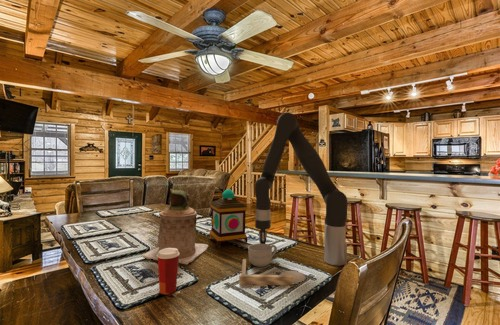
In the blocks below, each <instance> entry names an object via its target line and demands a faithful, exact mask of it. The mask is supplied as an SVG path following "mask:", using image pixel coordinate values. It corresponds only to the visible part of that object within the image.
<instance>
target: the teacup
mask: <svg viewBox="0 0 500 325" xmlns="http://www.w3.org/2000/svg"><path fill="white" fill-rule="evenodd" d="M273 248H274V249H273ZM247 249H248V252H247V253H248V260H249V263H251V265H253V266H255V267H256V268H257V267H258V268H262V267H267V266H268V265H269V264H270V263H271V262H272V259H273V256H274V255H275V254H276V253H277V252H278V251H277V250H278V247H277V245H275V244H271V245H270V244H268V243H265V244H260V243H254V244H250V245H248V246H247Z"/></svg>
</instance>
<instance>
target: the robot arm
mask: <svg viewBox="0 0 500 325" xmlns="http://www.w3.org/2000/svg"><path fill="white" fill-rule="evenodd" d="M277 118H278V119H277V121H276V127H275V128H276V129H275V133H274V137H273V140H272V142H271V144H270V148H269V150H268V152H267V155H266V157H265V160H264V163H263V166H262V172H261V175H260V177H259V178H257V179H256V180H255V183H254V192H255V200H256V202H255V212H254V213H255V218H254V220H255V221H254V222H255V223H254V225H255V226H254V228H255V229H257V230H258V240H259V244H267V243H266V242H267V236H268V231H267V230H269V229H271V223H272V222H271V221H272V220H271V219H272V218H271V217H272V213H271V212H272V211H271V203H272V202H271V198H270V190H271V188H272V186H273V184H274V180H275V176H276V173H277V171H278V168H279V166H280V163H281V161H282V157H283V153H284V150H285V148H286V144H287V142H289V143H290V144H291V146H292V149H293V151H294V153H295V155H296V157H297V160H298V161H299V164H300V165H301V166H302V168H303V169H304V171H305V172H306V174H307V175H308V177H309V178H310V180H312V182H313V183H314V184H315V186H316V187H317V189H318V191H319V193H320V195H321V197H322V200H323V202H324V203H325V217H324V235H323V236H324V237H323V238H324V239H323V240H324V242H323V243H324V245H323V247H324V248H323V250H324V251H323V252H324V253H323V261H324V263H326V264H329V265H331V266H343V265H347V264H346V263H348V243H347V242H346V233H347V231H346V229H347V228H346V225H347V218H348V197H347V195H346V194H345V193H344V192H342V191H340V190H339V188H338V187H337V186H336V185H335V183H334V182H333V180H332V179H331V177H330V175H329V173H328V170H327V167H326V165H325V163H324V161H323V160H322V158H321V156H320V154H319V153H318V152H317V149H315V147H314V146H313V145H312V144H311V142H309V140H308V139H307V138H306V136H305V135H304V133H303V131H302V130H301V128H300V125H299V124H298V120H297V117H296V115H294V114H293V113H291V112H284V113H281V115H279V116H278V117H277Z"/></svg>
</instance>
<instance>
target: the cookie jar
mask: <svg viewBox="0 0 500 325" xmlns="http://www.w3.org/2000/svg"><path fill="white" fill-rule="evenodd" d="M169 196H170V197H169V201H170V206H168V207H167V208H165V210H162V211H159V217H160V224H159V228H158V229H159V230H158V236H157V243H158V244H157V245H158V247H156V248H154V249H151V250H149V251H147V252H145V253H142V255H141V257H142V258H143V259H144V258H146V259H145V260H151V259H153V260H152V261H158V257H157V256H156V255H157V254H158V252H159V251H160V250H161V249H165V248H176V249H178V251H179V253H180V254H179V259H178V264H182V265H189V263H193V262H194V261H195V259H197V258H198V257H199V256H200V255H202V254H203V253H204V252H205V251H207V250H208V249H209V244H207V243H197V242H196V241H197V236H198V231H197V221H198V219H197V215H198V213H197V211H196V210H195V209H194V208H193V207H190V206H189V203H188V202H190V201H191V200H192V198H191V195H190V194H189V193H187V192H186V191H185V190H183V189H182V190H180V189H177V190H174V189H172V188H170V194H169Z"/></svg>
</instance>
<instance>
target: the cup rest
mask: <svg viewBox="0 0 500 325" xmlns="http://www.w3.org/2000/svg"><path fill="white" fill-rule="evenodd" d="M241 264H242V265H241V274H239V275H238V276H239V277H238V278H239V279H238V281H239V282H238V285H252V284H256V285H261V286H262V285H263V286H266V285H268V286H269V285H270V286H271V285H272V286H273V285H274V286H293V284H294V283H293V276H292V275H280V274H247V258H243V259H242V263H241Z"/></svg>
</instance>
